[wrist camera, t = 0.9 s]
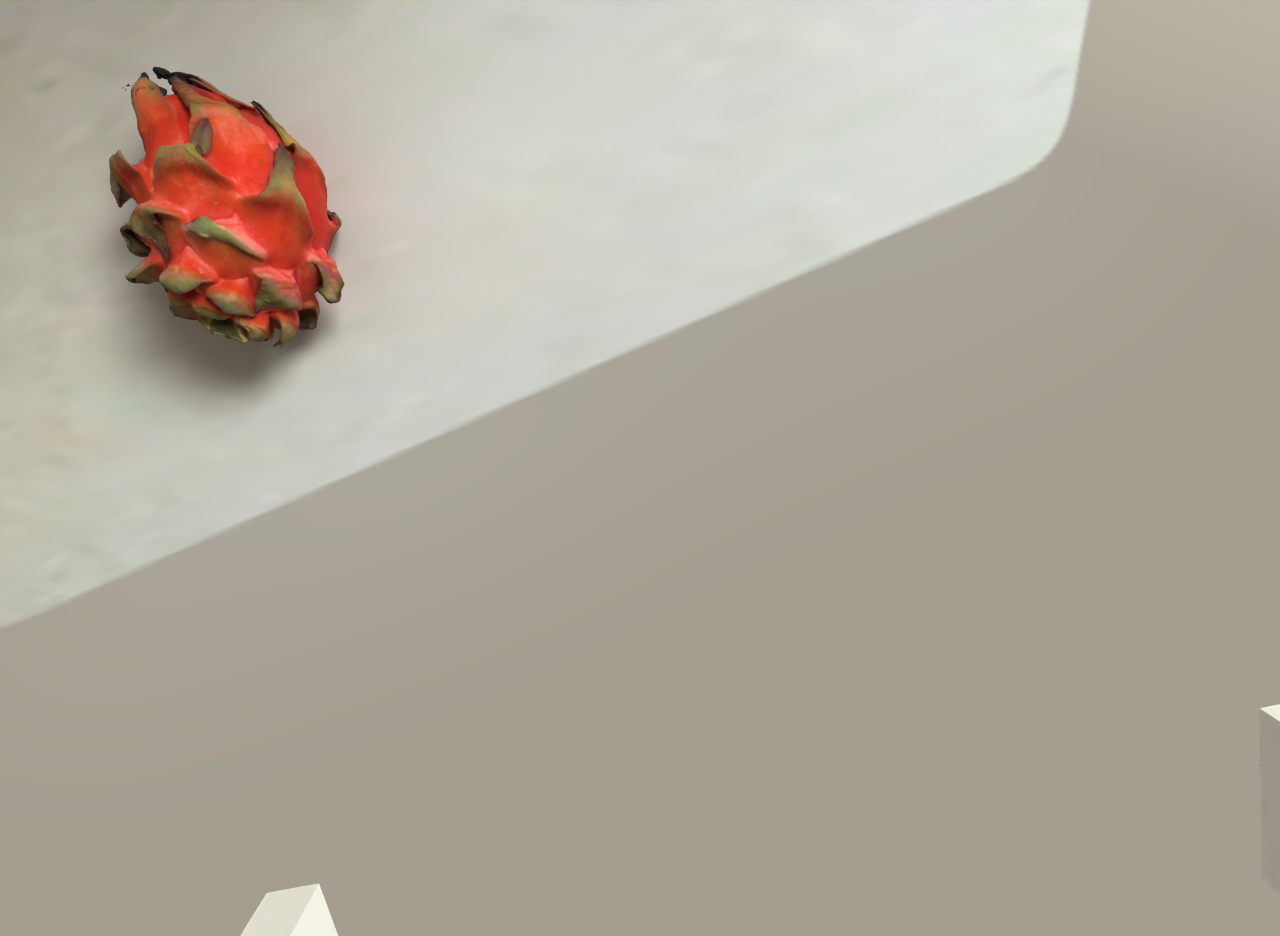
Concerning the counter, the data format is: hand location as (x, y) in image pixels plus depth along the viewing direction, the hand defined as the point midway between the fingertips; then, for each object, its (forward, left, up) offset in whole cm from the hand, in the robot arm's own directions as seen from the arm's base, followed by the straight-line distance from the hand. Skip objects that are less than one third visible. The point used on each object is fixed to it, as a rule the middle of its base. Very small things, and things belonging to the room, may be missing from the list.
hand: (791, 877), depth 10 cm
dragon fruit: (-15, -17, -28) cm, 36 cm away
